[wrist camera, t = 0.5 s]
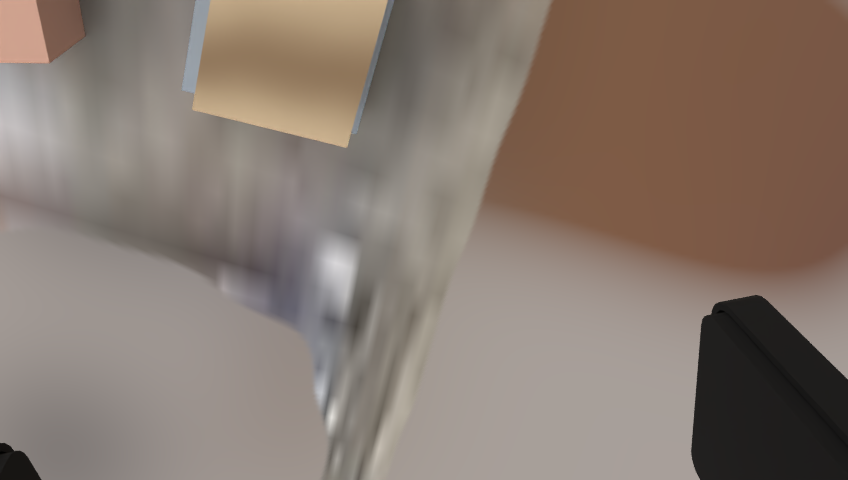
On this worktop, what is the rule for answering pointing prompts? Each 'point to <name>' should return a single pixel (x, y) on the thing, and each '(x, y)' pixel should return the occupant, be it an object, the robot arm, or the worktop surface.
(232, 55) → the oak block
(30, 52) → the terracotta block
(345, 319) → the worktop surface
